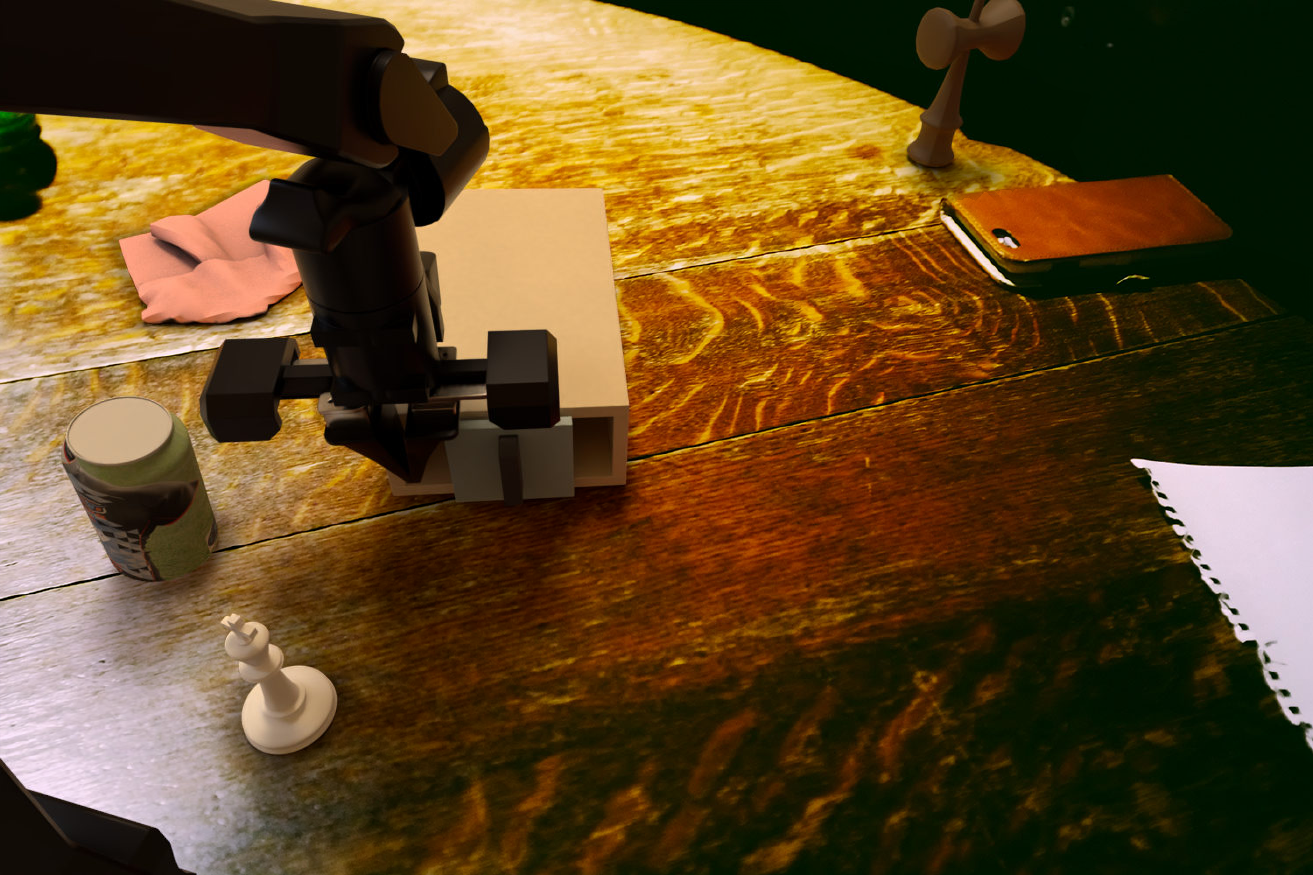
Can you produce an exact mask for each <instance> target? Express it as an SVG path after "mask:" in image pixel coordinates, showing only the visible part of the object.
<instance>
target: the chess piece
mask: <svg viewBox="0 0 1313 875" xmlns="http://www.w3.org/2000/svg"><path fill="white" fill-rule="evenodd" d="M219 624H220V625H221V627H222V628H224V629H226V630H228V631H230V632H229V633H228V634H227V636H226V638H225V641H224V650H225V653H226V654H227V655H228V657H230V658H231V659H233V660H235V661H238V662H239V663H238V674H239V676H240V677H241V679H242V680H243V681H244V682H247V683H250V684H255V685H254V687H253V688H252V689H251V691H250V692H249V693H248V695H247V697H246V699H245V700H244V703H243V707H242V710H241V724H242V725H241V726H242V728H243V731H244V735H245V737H246V739H247V741H248V742H249V743H250V745H252V746H253V747H254V748H256V749H257V750H258V751H260V752H263V753H266V754H270V755H286V754H291V753H295V752H297V751H300V750H302V749H304V748H306V747H308V746H310V745H311V744H313V743H314V742H316V741H317V740H318V739H319V738H320V737H321V736H322V735H323V734H324V733H325V732H326V731H327V729H328V728H329V727H330V725H331V723H332V722H333V719H334V718H335V715H336V711H337V706H338V695H337V691H336V688H335V686H334V684H333V682H332V681H331V680H330V679H329V678H328V676H326V675H325V673H323V672H322V671H320V670H319V669H317V668H315V667H311V666H307V665H290V666H286V667H283V665H284V662H285V656H284V652H283V650H282V649H281V648H280V647H278V646H276V645H275V644H272V643H270V640H271V639H270V632H269V630H268V628H267V626H266V625H265V624H263V623H261V622H259V621H247V622H245V621H244V619H243V618H242V617H241V616H240V615H239V614H236V613H234V612H232V614H231V615H230V616H229V615H225V616H224V617H223V618H222V620H221V621H220V622H219Z"/></svg>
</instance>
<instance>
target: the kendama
mask: <svg viewBox="0 0 1313 875" xmlns="http://www.w3.org/2000/svg"><path fill="white" fill-rule="evenodd" d="M985 2H986V0H974V2H973V3H972V6H971V10H970V13H969V16H968V17H967V18H960V17H959V16H957V15H956V14H954V13H953V12H952V11H950V9H947V8H942V7H934V8H932V9H928V10H927V12H926V13H925V14H924V15H923V17H922V18H921V20H920V23H919V24H918V28H917V32H916V37H915V46H916V53H917V55H918V58H919V60H920V62H922V64H923V65H924V66H925V67H926V68H929V69H932V70H936V71H937V70H943V69H945V68H947V67H948V66H949V68H948V70H947V73H946V75H945V77H944V80H943V81H942V83H941V86H940V88H939V89H938V92H937V93H936V95H935V98H934V99H933V101H932V103H931V104H930V106H929V107H928V108H927V109H925V110H923V112H921V113H920V114H919V120H920V123H921V127H920V131H919V133H918V136H917V137H916V139H915V140H913V141H912V142H910V144H909V145H908V146H907V147H906V153H907V155H908V157H909V158H910V159H911V160H912V161H913V162H916V163H917V164H919V165H922V166H925V167H932V168H939V167H944V166H947V165H949V164H950V163H952V162H953V161H954V159H955V153H954V149H953V142H954V141H953V140H954V138H955V133H956V131H958V130H959V129H960V127H961V126H962V125H963V124H964V121H963V117H962V116H960V105H961V97H962V92H963V85H964V80H965V76H966V70H967V68H968V67H967V66H968V62H969V58H970V54H971V50H974V49H977V50H978V51H980V52H981V53H983V55H984V56H986V57H987V58H988V59H991V60H993V61H997V62H1000V61H1004V60H1008V59H1010V58H1011V57H1012V56H1013V55H1014V54H1015V53H1016V52H1017V51H1018V49H1019V47H1020V45H1021V43H1022V41H1023V39H1024V35H1025V31H1026V12H1025V11H1024V8H1023V6H1022V4H1021V3H1020V2H1019V1H1018V0H989V1H988V2H987V3H986V4H985Z"/></svg>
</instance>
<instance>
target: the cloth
mask: <svg viewBox="0 0 1313 875" xmlns="http://www.w3.org/2000/svg"><path fill="white" fill-rule="evenodd" d="M270 181H271V180H268V179H266V178H264V179H263V180H260V181H258V182H257V183H254V184H252V185H251V186H249V187H247V188H245V189H243V190H242V191H240V192H237V193H236V194H234V195H232V196H230V197H228V198H226V199H225V200H223V201H221V202H219V203H217V204H215V205H214V206H212V207H209V208H208V209H206V210H204V211H202V212H200V213H199V214H197V215H195V216H194V215H191V214H180V215H169V216H166V217H162V218H160V219H159V220H156V221H154V222H151V223H149V228H150V232H147V233H142V234H138V235H133V236H128V237H125V238H121V239H118V242H119V246H120V249H121V254H122V256H123V259H124V262H125V264H126V267H127V270H128V273H129V275H130V277H131V279H132V281H133V284H134V286H135V288H136V291H137V293H138V297H139V300H141V301H142V302H143V303H144V304H145V305H147V308H145V309H144V310H142V311H141V320H142V321H144V322H145V323H148V324H155V325H157V324H158V325H159V324H163V323H167V322H168V323H169V322H170V323H176V324H190V323H194V322H197V323H200V324H217V325H220V324H226V323H229V322H232V321H233V320H235V319H237V318H251V317H255V316H259V315H261V314H266V313H267V311H268V307H269V306H270V305H273V304H276V303H278V302H279V301H280V300H282V299H283V298H285V297H286V296H287V295H289V294H291V293H292V292H294V291H295V290H296V289H298V287H299V286H301V284H302V280H301V277H300V274H299V271H298V268H297V264H296V261H295V258H294V255H293V252H292V249H290V248H285V247H280V246H275V245H270V244H265V243H260V242H255V241H253V240H252V239H251V238H250V236H249V227H250V224H251V221H252V217H253V214H254V212H255V210H256V209H257V208H258V207H259V206H260V205H261V204H262V203H263V201H264V199H265V198H266V195H267V193H268V189H269V183H270Z"/></svg>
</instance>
